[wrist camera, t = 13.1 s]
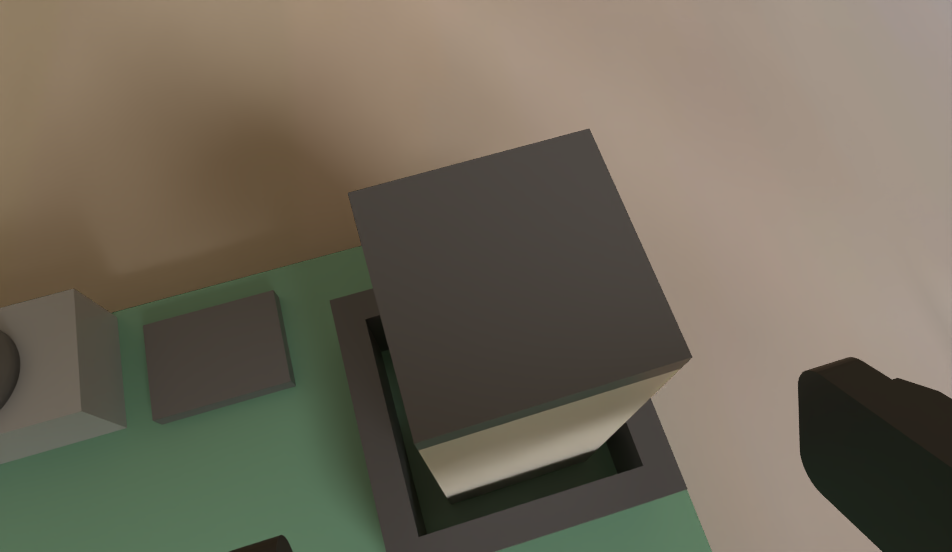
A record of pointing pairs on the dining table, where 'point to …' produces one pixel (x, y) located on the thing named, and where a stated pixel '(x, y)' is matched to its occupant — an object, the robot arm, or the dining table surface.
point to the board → (276, 435)
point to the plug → (515, 310)
